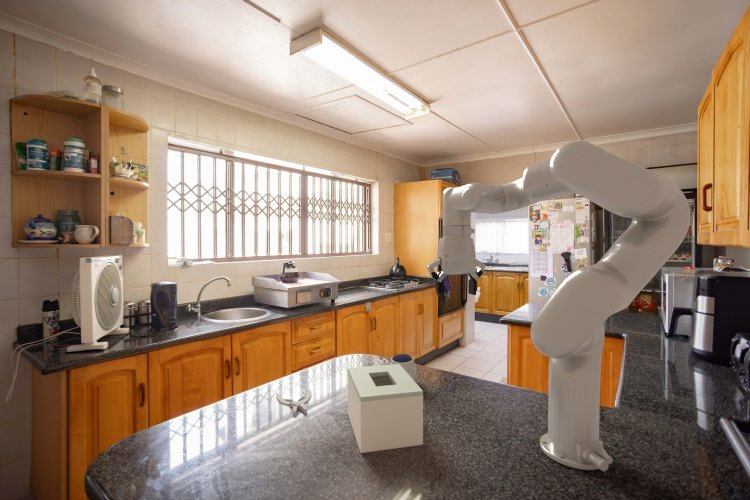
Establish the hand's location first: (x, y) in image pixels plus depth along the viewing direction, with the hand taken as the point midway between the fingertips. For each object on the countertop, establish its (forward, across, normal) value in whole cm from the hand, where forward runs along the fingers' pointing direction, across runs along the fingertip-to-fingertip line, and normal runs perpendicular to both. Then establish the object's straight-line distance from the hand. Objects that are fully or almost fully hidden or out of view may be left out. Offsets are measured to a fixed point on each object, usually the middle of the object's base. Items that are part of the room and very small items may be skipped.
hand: (456, 295), depth 100 cm
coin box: (+30, +24, +7) cm, 39 cm away
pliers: (+31, +43, -12) cm, 54 cm away
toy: (+30, +16, -15) cm, 37 cm away
